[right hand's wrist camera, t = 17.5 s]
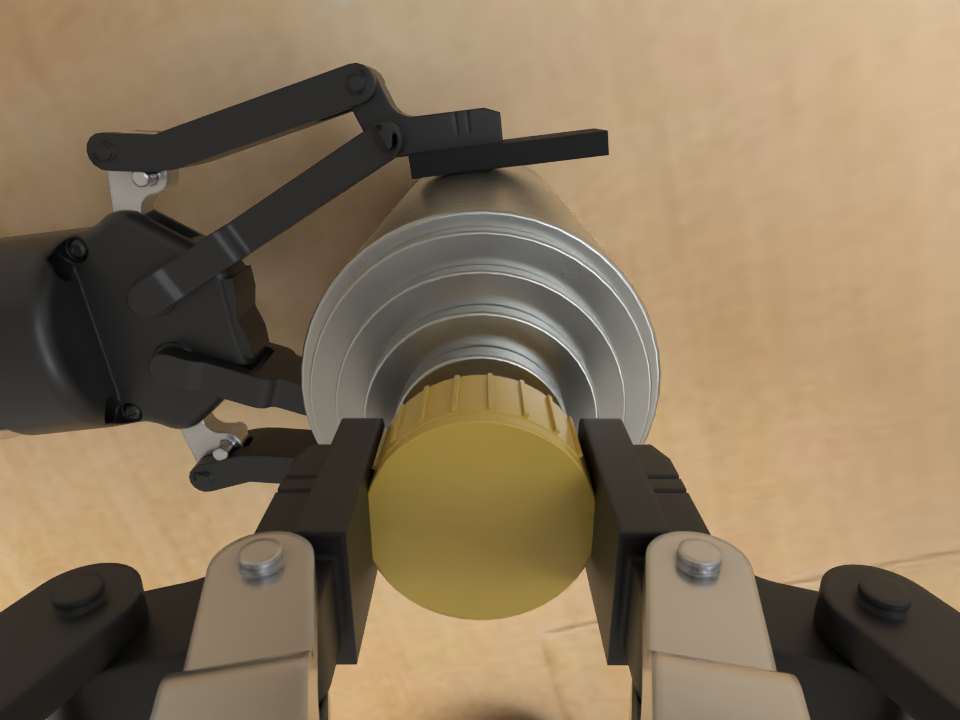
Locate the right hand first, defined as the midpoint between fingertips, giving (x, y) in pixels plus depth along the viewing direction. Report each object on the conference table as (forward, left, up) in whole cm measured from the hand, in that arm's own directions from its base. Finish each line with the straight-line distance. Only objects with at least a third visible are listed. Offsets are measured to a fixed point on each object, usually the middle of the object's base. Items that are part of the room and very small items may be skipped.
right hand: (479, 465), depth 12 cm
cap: (0, 0, +2) cm, 2 cm away
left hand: (-2, -4, -13) cm, 14 cm away
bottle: (0, 0, -19) cm, 19 cm away
